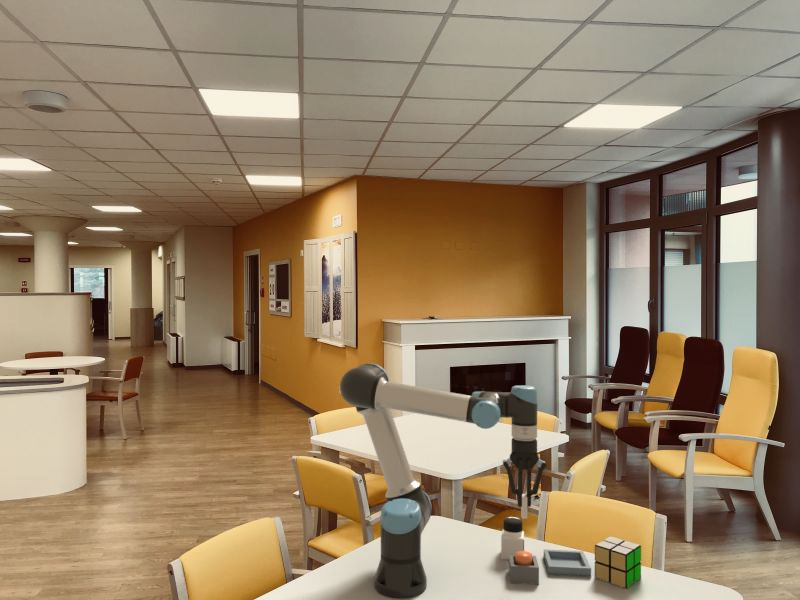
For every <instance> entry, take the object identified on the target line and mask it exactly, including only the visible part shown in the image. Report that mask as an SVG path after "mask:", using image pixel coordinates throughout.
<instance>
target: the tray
mask: <svg viewBox="0 0 800 600" xmlns="http://www.w3.org/2000/svg"><path fill="white" fill-rule="evenodd" d="M543 560H544V563H545V567H546V569H547V573H548V575H549V576H564V577H565V576H566V577H567V576H569V577H570V576H571V577H587V578H588V577H589V576H590V578H591V577H592V567H591V564H590V563H589V561H588V559H587V557H586V554H585V553H584V551H583V550H569V549H568V550H565V549H543Z"/></svg>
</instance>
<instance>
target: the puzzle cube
mask: <svg viewBox="0 0 800 600" xmlns="http://www.w3.org/2000/svg"><path fill="white" fill-rule="evenodd" d="M641 561H642V545H641V544H638V543H634V542H632V541H627V540H624V539H622V538H619V537H614V536H609V537H606V538H605V539H603V540H601V541H600V542H598V543H596V544H595V545H594V578H595V579H597V578H598V580H600V579H601V581H603V580H604V581H603V582H606V581H607V582H606V583H608V582H610V584H611V583H612V585H614V584H615V586H617V587H620V586H621V587H620V588H622V587H623V588H622V589H625V588H626V589H628V588H629V587H630V586H632V585H633V584H634V583H636V582H638V581H639V580H640V579H641V578H642V562H641Z"/></svg>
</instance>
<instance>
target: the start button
mask: <svg viewBox="0 0 800 600" xmlns="http://www.w3.org/2000/svg"><path fill="white" fill-rule="evenodd" d="M532 556H533V553H531V552H530V551H527V550H524V551H517V552H516V553H515V563H516V564H517V565H529V566H530V565H532Z"/></svg>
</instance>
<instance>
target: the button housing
mask: <svg viewBox="0 0 800 600" xmlns="http://www.w3.org/2000/svg"><path fill="white" fill-rule="evenodd" d="M508 573H509V580H510V584H519V585H537V586H540V585H539V584H540V566H539V563H538V559H537V556H536V555H532V565H530V566H529V565H517V564H516V563H515V555H509V560H508Z"/></svg>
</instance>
